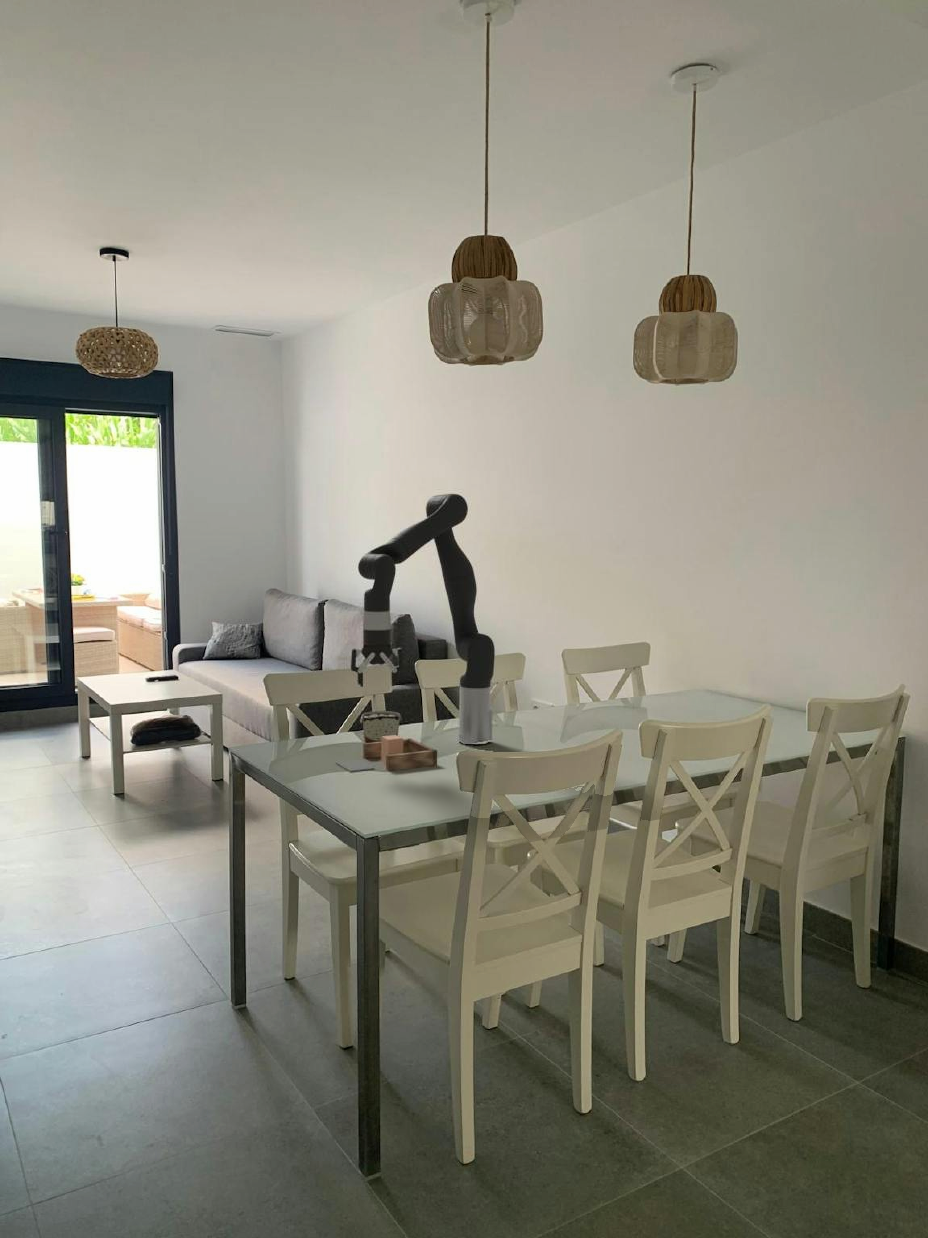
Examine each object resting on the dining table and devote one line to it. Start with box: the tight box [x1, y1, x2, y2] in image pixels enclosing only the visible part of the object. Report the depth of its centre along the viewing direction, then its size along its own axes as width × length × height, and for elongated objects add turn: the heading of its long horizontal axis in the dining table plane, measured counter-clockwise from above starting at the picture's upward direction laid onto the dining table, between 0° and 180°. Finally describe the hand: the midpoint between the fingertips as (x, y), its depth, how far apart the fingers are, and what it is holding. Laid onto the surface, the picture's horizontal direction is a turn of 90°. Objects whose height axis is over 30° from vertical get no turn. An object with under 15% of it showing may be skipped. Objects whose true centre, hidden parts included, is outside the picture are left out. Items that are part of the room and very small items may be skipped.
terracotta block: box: [380, 735, 404, 765], centre depth 265 cm, size 4×4×7 cm
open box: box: [362, 738, 438, 772], centre depth 266 cm, size 15×16×4 cm
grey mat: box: [335, 759, 375, 773], centre depth 260 cm, size 7×10×1 cm
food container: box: [360, 710, 403, 743], centre depth 284 cm, size 12×6×10 cm, turn 111°
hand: (377, 686), depth 264 cm, fingers open, 8 cm apart
